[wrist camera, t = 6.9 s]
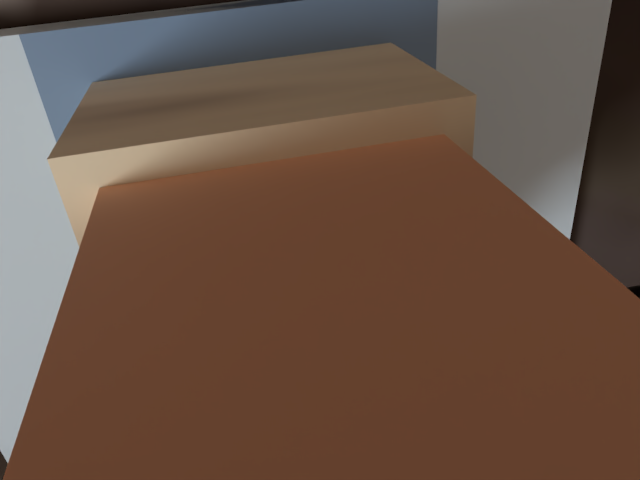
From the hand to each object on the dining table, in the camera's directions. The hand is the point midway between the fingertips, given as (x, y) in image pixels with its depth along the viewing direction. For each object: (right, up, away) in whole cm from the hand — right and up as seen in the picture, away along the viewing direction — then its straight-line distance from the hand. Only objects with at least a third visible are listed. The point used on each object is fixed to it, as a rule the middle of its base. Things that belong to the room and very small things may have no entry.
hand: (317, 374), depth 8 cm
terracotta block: (0, +1, +2) cm, 2 cm away
